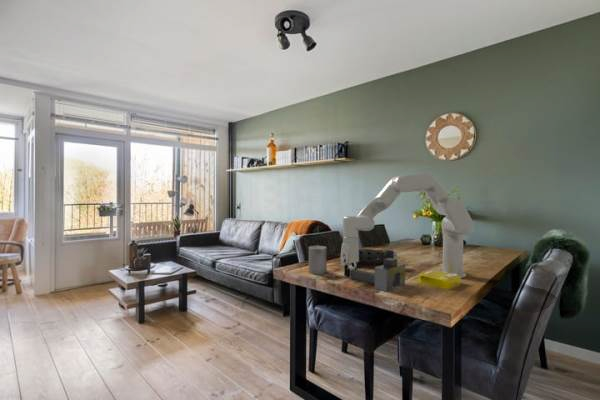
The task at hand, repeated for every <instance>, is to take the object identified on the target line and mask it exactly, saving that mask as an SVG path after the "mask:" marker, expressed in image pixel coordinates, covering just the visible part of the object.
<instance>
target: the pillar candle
mask: <svg viewBox="0 0 600 400" xmlns="http://www.w3.org/2000/svg"><path fill="white" fill-rule="evenodd" d="M327 261H328V260H327V246H325V245H319V244H317V245H311V246H308V274H311V275H325V274H327V271H328V270H327Z"/></svg>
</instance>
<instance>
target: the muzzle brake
mask: <svg viewBox="0 0 600 400" xmlns="http://www.w3.org/2000/svg"><path fill="white" fill-rule="evenodd" d="M397 254H398V252H397V251H394V250H391V249H385V250H383V249H365V248H364V249H363V248H359V261H358V263H357V266H358V267H369V266H371V267H373V266H374V267H378V266H382V265H384V259H387V258H394V259H397V260H398V258H397V256H398V255H397ZM350 266H351V263H350Z"/></svg>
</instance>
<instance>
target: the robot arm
mask: <svg viewBox="0 0 600 400" xmlns="http://www.w3.org/2000/svg"><path fill="white" fill-rule="evenodd" d="M420 191H422V192H424V193H425V195H426V196H427V197H428V199H429V201H430V202H431V205H432V206H433V208H434V210H435V211H436V213H437V214H439V215H442V216H444V217H443V219H442V220H441V225H440V226H441V231H442V270H440V271H441V272H446V273H452V274H457V275H461V279H463V278H466V277H467V274H466V273H465V272H464V271H463V269H464V238H463V236H467V235H470V234H471V233H472V232H473V231H474V226H475V225H474V221H473V219H472V217H471V215H470V213H469V211H468V209H467V208H466V206H465V204H464V203H463V202H462V200H461V199H459V198H457V197H454V196H449V195H448V193H447V191H446V189H445V188H444V186H443V185H442V184H441V183H440V182H439V181H438V180H437V179H436V178H435V177H434V176H433V175H432V174H431V173H429V172H421V173H412V174H404V175H403V174H402V175H396V176H393V177H392V178H391V179H390V180H389V181H388V182H386V184H385V185H384V187H383V188H382V189H381V190H380V191H379V193H378V194H377V195H376V196H375V197H374V198H373V199H371V201H369V203H367V204H366V205H365V206H364V208H363V209H362V210H361V211H360V212H359V213H358V214H357V216H355V215H345V216H344V217H343V220H342V221H343V222H342V243H341V249H340V265H341V266H342V267H343V277H344V276H346V277H345V278H348V277H350V269H349V268H350V266H353V267H355V269H357V263H358V261H359V249H360V248H359V231H364V232H370V231H371V230H373V229H374V228H375V224H376V223H375V220H374V218H375V217H376V216H377V215H378V214H379V213H381V212H383V211H385V210H387V209H389V208H390V207H391V206H392V205H393V204H394V202H395V201H396V200H397V199H398V197H399V196H400V195H401V194H402V193H412V192H413V193H414V192H420ZM350 263H351V265H350Z"/></svg>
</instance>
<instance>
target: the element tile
mask: <svg viewBox="0 0 600 400" xmlns="http://www.w3.org/2000/svg"><path fill="white" fill-rule="evenodd" d="M418 283H419V284H422V285H426V286H430V287H435V288H439V289H444V290H453V289H454V288H456V287H459V286H461V285H462V278H461V275H457V274H452V273H446V272H441V270H435V269H431V270H428V271H425V272H422V273H420V274H419V275H418Z"/></svg>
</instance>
